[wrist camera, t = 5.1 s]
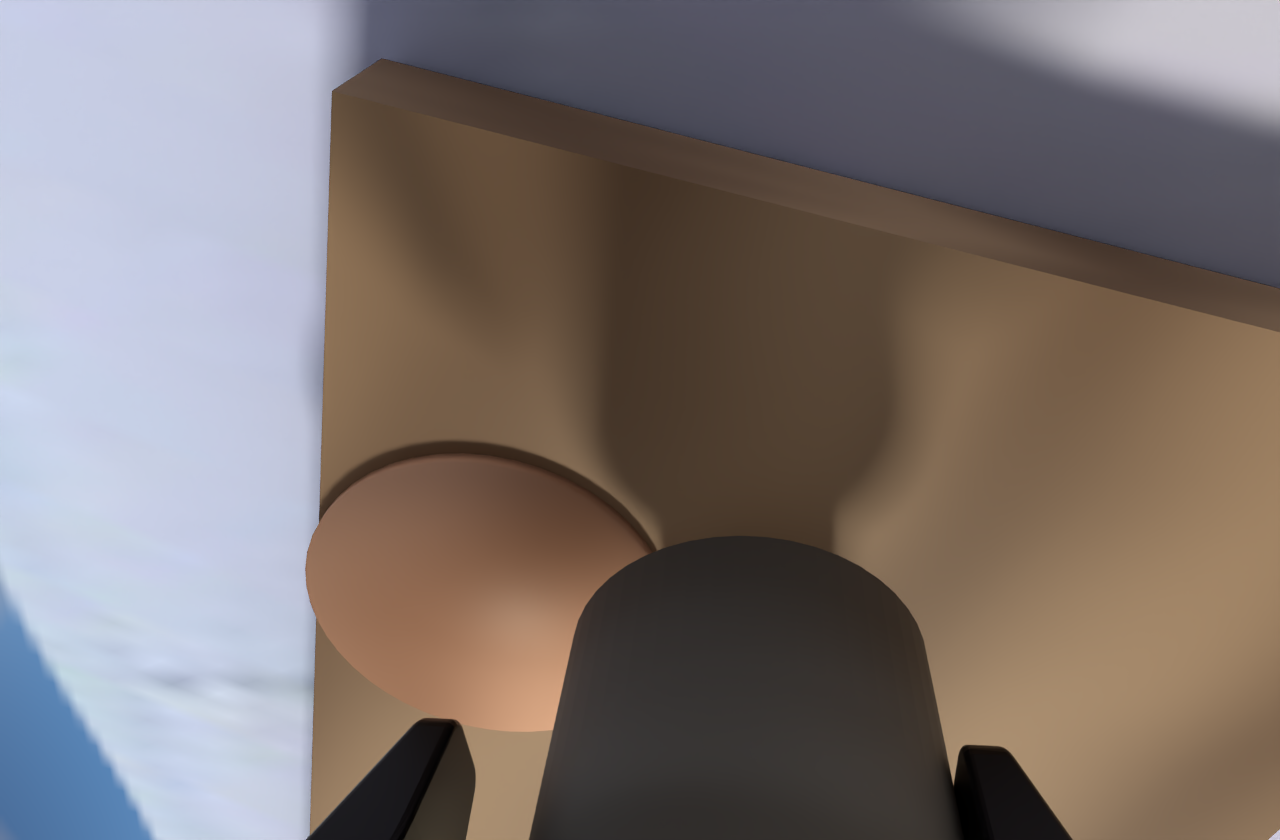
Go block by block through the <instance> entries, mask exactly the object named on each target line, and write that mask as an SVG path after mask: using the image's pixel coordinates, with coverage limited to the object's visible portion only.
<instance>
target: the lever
mask: <svg viewBox="0 0 1280 840" xmlns="http://www.w3.org/2000/svg"><path fill="white" fill-rule="evenodd" d="M529 840H965V839H964V835H963V830H962V825H961V820H960V815H959V810H958V805H957V800H956V795H955V791H954V786H953V781H952V776H951V771H950V766H949V761H948V756H947V751H946V746H945V742H944V737H943V732H942V727H941V722H940V717H939V712H938V707H937V702H936V698H935V693H934V688H933V683H932V678H931V673H930V668H929V663H928V658H927V654H926V649H925V644H924V640H923V637H922V634H921V632H920V629H919V627H918V624H917V622H916V621H915V619H914V617H913V616H912V614H911V613H910V611H909V609H908V608H907V607H906V605H905V604H904V603H903V602H902V601H901V599H900V598H899V597H898V596H897V595H896V594H895V593H894V592H893V591H892V590H891V589H890V588H889V587H888V586H887V585H885V584H884V583H883V582H882V581H881V580H880V579H878V578H877V577H875V576H874V575H872V574H871V573H869V572H868V571H866V570H865V569H863V568H862V567H860V566H859V565H857V564H855V563H853V562H851V561H849V560H847V559H845V558H843V557H841V556H839V555H836V554H833V553H831V552H828V551H825V550H823V549H820V548H817V547H814V546H810V545H806V544H802V543H798V542H794V541H790V540H783V539H776V538H770V537H757V536H725V537H712V538H705V539H699V540H692V541H688V542H684V543H680V544H676V545H673V546H669V547H666V548H663V549H660V550H658V551H655V552H653V553H650V554H648V555H645V556H643V557H642V558H640V559H638V560H636V561H634V562H632V563H630V564H629V565H627V566H625V567H624V568H623V569H621V570H620V571H618V572H617V573H616V574H614V575H613V576H612V577H610V578H609V579H608V580H607V581H606V582H605V583H604V584H603V585H602V586H601V587H600V588H599V589H598V590H597V591H596V592H595V593H594V595H593V596H592V597H591V599H590V600H589V602H588V603H587V604H586V606H585V608H584V610H583V612H582V614H581V616H580V618H579V620H578V623H577V626H576V630H575V633H574V637H573V641H572V646H571V650H570V655H569V659H568V664H567V669H566V673H565V678H564V682H563V687H562V691H561V696H560V700H559V705H558V709H557V714H556V718H555V723H554V728H553V732H552V737H551V741H550V746H549V750H548V755H547V759H546V764H545V768H544V773H543V778H542V782H541V787H540V791H539V796H538V800H537V805H536V809H535V814H534V818H533V823H532V828H531V832H530V837H529Z"/></svg>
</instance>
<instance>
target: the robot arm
mask: <svg viewBox="0 0 1280 840" xmlns="http://www.w3.org/2000/svg"><path fill="white" fill-rule="evenodd" d="M475 786H476V772H475V766H474V762H473V759H472V756H471V753H470V749H469V746H468V743H467V740H466V736H465V733H464V730H463V727H462V725H461V724H460V723H459V722H458V721H457V720H455V719H444V718H423V719H421V720H419V721H417V722H416V723H414V724H413V725H412V726H411V727H410V728H409V729H408V731H407V732H406V733H405V734H404V735H403V736H402V737H401V738H400V739H399V740H398V741H397V742H396V743H395V744H394V746H393V747H392V748H391V749H390V750H389V751H388V752H387V753H386V754H385V755H384V756H383V757H382V758H381V759H380V761H379V762H378V763H377V764H376V765H375V766H374V767H373V768H372V769H371V770H370V771H369V772H368V773H367V774H366V776H365V777H364V778H363V779H362V780H361V781H360V782H359V783H358V784H357V785H356V786H355V787H354V788H353V789H352V791H351V792H350V793H349V794H348V795H347V796H346V797H345V798H344V799H343V800H342V801H341V802H340V803H339V804H338V806H337V807H336V808H335V809H334V810H333V811H332V812H331V813H330V814H329V815H328V816H327V817H326V818H325V820H324V821H323V822H322V823H321V824H320V825H319V826H318V827H317V828H316V829H315V830H314V831H313V832H312V833H311V835H310V836H309V837H308V838H307V839H306V840H466V836H467V831H468V826H469V820H470V815H471V809H472V804H473V799H474V793H475ZM953 786H954V791H955V795H956V800H957V805H958V810H959V815H960V820H961V825H962V830H963V835H964V839H965V840H1073V839H1072V838H1071V836H1070V835H1069V834H1068V832H1067V831H1066V829H1065V828H1064V827H1063V825H1062V824H1061V822H1060V821H1059V819H1058V818H1057V817H1056V815H1055V814H1054V812H1053V811H1052V810H1051V808H1050V807H1049V805H1048V804H1047V803H1046V801H1045V800H1044V798H1043V797H1042V796H1041V794H1040V793H1039V791H1038V790H1037V789H1036V787H1035V786H1034V784H1033V783H1032V781H1031V780H1030V779H1029V777H1028V776H1027V774H1026V773H1025V772H1024V770H1023V769H1022V767H1021V766H1020V765H1019V763H1018V762H1017V760H1016V759H1015V758H1014V756H1013V755H1012V754H1011V753H1010V752H1009V751H1008V750H1007V749H1005V748H1004V747H1001V746H989V745H964V746H963V747H962V748H961V749H960V751H959V754H958V760H957V766H956V772H955V778H954V785H953Z"/></svg>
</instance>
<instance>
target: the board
mask: <svg viewBox="0 0 1280 840" xmlns="http://www.w3.org/2000/svg"><path fill="white" fill-rule="evenodd" d="M725 536H757V537H770V538H776V539H783V540H790V541H794V542H798V543H802V544H806V545H810V546H814V547H817V548H820V549H823V550H825V551H828V552H831V553H833V554H836V555H839V556H841V557H843V558H845V559H847V560H849V561H851V562H853V563H855V564H857V565H859V566H860V567H862V568H863V569H865V570H866V571H868V572H869V573H871V574H872V575H874V576H875V577H877V578H878V579H880V580H881V581H882V582H883V583H884V584H885V585H887V586H888V587H889V588H890V589H891V590H892V591H893V592H894V593H895V594H896V595H897V596H898V597H899V598H900V599H901V601H902V602H903V603H904V604H905V605H906V607H907V608H908V609H909V611H910V613H911V614H912V616H913V617H914V619H915V621H916V622H917V624H918V627H919V629H920V632H921V634H922V637H923V640H924V644H925V649H926V654H927V658H928V663H929V668H930V673H931V678H932V683H933V688H934V693H935V698H936V702H937V707H938V712H939V717H940V722H941V727H942V732H943V737H944V742H945V746H946V751H947V756H948V761H949V766H950V771H951V776H952V781H953V785H954V778H955V772H956V766H957V760H958V754H959V751H960V749H961V748H962V747H963V746H964V745H989V746H1001V747H1004V748H1005V749H1007V750H1008V751H1009V752H1010V753H1011V754H1012V755H1013V756H1014V758H1015V759H1016V760H1017V762H1018V763H1019V765H1020V766H1021V767H1022V769H1023V770H1024V772H1025V773H1026V774H1027V776H1028V777H1029V779H1030V780H1031V781H1032V783H1033V784H1034V786H1035V787H1036V789H1037V790H1038V791H1039V793H1040V794H1041V796H1042V797H1043V798H1044V800H1045V801H1046V803H1047V804H1048V805H1049V807H1050V808H1051V810H1052V811H1053V812H1054V814H1055V815H1056V817H1057V818H1058V819H1059V821H1060V822H1061V824H1062V825H1063V827H1064V828H1065V829H1066V831H1067V832H1068V834H1069V835H1070V836H1071V838H1072V839H1073V840H1268V839H1269V838H1270V837H1271V836H1273V835H1274V834H1275V833H1276V832H1277V831H1278V830H1279V829H1280V289H1279V288H1275V287H1271V286H1268V285H1264V284H1260V283H1256V282H1252V281H1248V280H1244V279H1240V278H1236V277H1232V276H1229V275H1225V274H1221V273H1217V272H1213V271H1209V270H1205V269H1201V268H1197V267H1193V266H1190V265H1186V264H1182V263H1178V262H1174V261H1170V260H1166V259H1162V258H1158V257H1154V256H1151V255H1147V254H1143V253H1139V252H1135V251H1131V250H1127V249H1123V248H1119V247H1115V246H1112V245H1108V244H1104V243H1100V242H1096V241H1092V240H1088V239H1084V238H1080V237H1076V236H1073V235H1069V234H1065V233H1061V232H1057V231H1053V230H1049V229H1045V228H1041V227H1037V226H1034V225H1030V224H1026V223H1022V222H1018V221H1014V220H1010V219H1006V218H1002V217H998V216H995V215H991V214H987V213H983V212H979V211H975V210H971V209H967V208H963V207H959V206H956V205H952V204H948V203H944V202H940V201H936V200H932V199H928V198H924V197H920V196H917V195H913V194H909V193H905V192H901V191H897V190H893V189H889V188H885V187H881V186H877V185H874V184H870V183H866V182H862V181H858V180H854V179H850V178H846V177H842V176H838V175H835V174H831V173H827V172H823V171H819V170H815V169H811V168H807V167H803V166H799V165H796V164H792V163H788V162H784V161H780V160H776V159H772V158H768V157H764V156H760V155H757V154H753V153H749V152H745V151H741V150H737V149H733V148H729V147H725V146H721V145H718V144H714V143H710V142H706V141H702V140H698V139H694V138H690V137H686V136H682V135H679V134H675V133H671V132H667V131H663V130H659V129H655V128H651V127H647V126H643V125H640V124H636V123H632V122H628V121H624V120H620V119H616V118H612V117H608V116H604V115H601V114H597V113H593V112H589V111H585V110H581V109H577V108H573V107H569V106H565V105H562V104H558V103H554V102H550V101H546V100H542V99H538V98H534V97H530V96H526V95H523V94H519V93H515V92H511V91H507V90H503V89H499V88H495V87H491V86H487V85H483V84H480V83H476V82H472V81H468V80H464V79H460V78H456V77H452V76H448V75H444V74H441V73H437V72H433V71H429V70H425V69H421V68H417V67H413V66H409V65H405V64H402V63H398V62H394V61H390V60H386V59H380V60H379V61H377V62H376V63H374V64H373V65H371V66H369V67H368V68H366V69H365V70H363V71H362V72H360V73H359V74H357V75H356V76H354V77H353V78H351V79H350V80H348V81H347V82H345V83H344V84H342V85H341V86H339V87H338V88H336V89H334V90H333V91H332V109H331V143H330V176H329V210H328V243H327V277H326V310H325V344H324V377H323V411H322V445H321V478H320V512H319V524H318V526H317V528H316V530H315V532H314V534H313V535H312V539H311V542H310V545H309V548H308V551H307V559H306V568H305V571H306V585H307V590H308V594H309V598H310V603H311V605H312V608H313V610H314V613H315V615H316V646H315V679H314V713H313V746H312V780H311V813H310V835H311V833H312V832H313V831H314V830H315V829H316V828H317V827H318V826H319V825H320V824H321V823H322V822H323V821H324V820H325V818H326V817H327V816H328V815H329V814H330V813H331V812H332V811H333V810H334V809H335V808H336V807H337V806H338V804H339V803H340V802H341V801H342V800H343V799H344V798H345V797H346V796H347V795H348V794H349V793H350V792H351V791H352V789H353V788H354V787H355V786H356V785H357V784H358V783H359V782H360V781H361V780H362V779H363V778H364V777H365V776H366V774H367V773H368V772H369V771H370V770H371V769H372V768H373V767H374V766H375V765H376V764H377V763H378V762H379V761H380V759H381V758H382V757H383V756H384V755H385V754H386V753H387V752H388V751H389V750H390V749H391V748H392V747H393V746H394V744H395V743H396V742H397V741H398V740H399V739H400V738H401V737H402V736H403V735H404V734H405V733H406V732H407V731H408V729H409V728H410V727H411V726H412V725H413V724H414V723H416V722H417V721H419V720H421V719H423V718H444V719H455V720H457V721H458V722H459V723H460V724H461V725H462V727H463V730H464V733H465V736H466V740H467V743H468V746H469V749H470V753H471V756H472V759H473V762H474V766H475V772H476V786H475V793H474V799H473V804H472V809H471V815H470V820H469V826H468V831H467V836H466V840H529V837H530V832H531V828H532V823H533V818H534V814H535V809H536V805H537V800H538V796H539V791H540V787H541V782H542V778H543V773H544V768H545V764H546V759H547V755H548V750H549V746H550V741H551V737H552V732H553V728H554V723H555V718H556V714H557V709H558V705H559V700H560V696H561V691H562V687H563V682H564V678H565V673H566V669H567V664H568V659H569V655H570V650H571V646H572V641H573V637H574V633H575V630H576V626H577V623H578V620H579V618H580V616H581V614H582V612H583V610H584V608H585V606H586V604H587V603H588V602H589V600H590V599H591V597H592V596H593V595H594V593H595V592H596V591H597V590H598V589H599V588H600V587H601V586H602V585H603V584H604V583H605V582H606V581H607V580H608V579H609V578H610V577H612V576H613V575H614V574H616V573H617V572H618V571H620V570H621V569H623V568H624V567H625V566H627V565H629V564H630V563H632V562H634V561H636V560H638V559H640V558H642V557H643V556H645V555H648V554H650V553H653V552H655V551H658V550H660V549H663V548H666V547H669V546H673V545H676V544H680V543H684V542H688V541H692V540H699V539H705V538H712V537H725Z"/></svg>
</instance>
